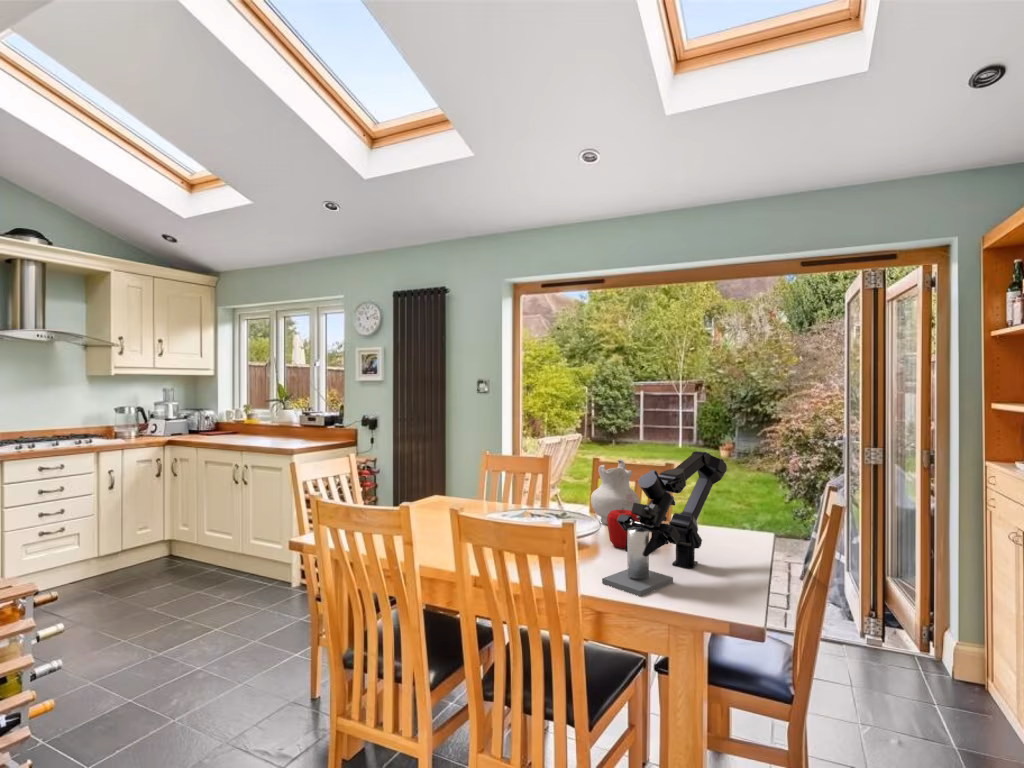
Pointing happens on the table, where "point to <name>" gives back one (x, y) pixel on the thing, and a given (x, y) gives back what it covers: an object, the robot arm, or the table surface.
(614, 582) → the base plate
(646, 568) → the silver metal cylinder
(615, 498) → the ceramic pitcher
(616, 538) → the apple
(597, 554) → the table surface
